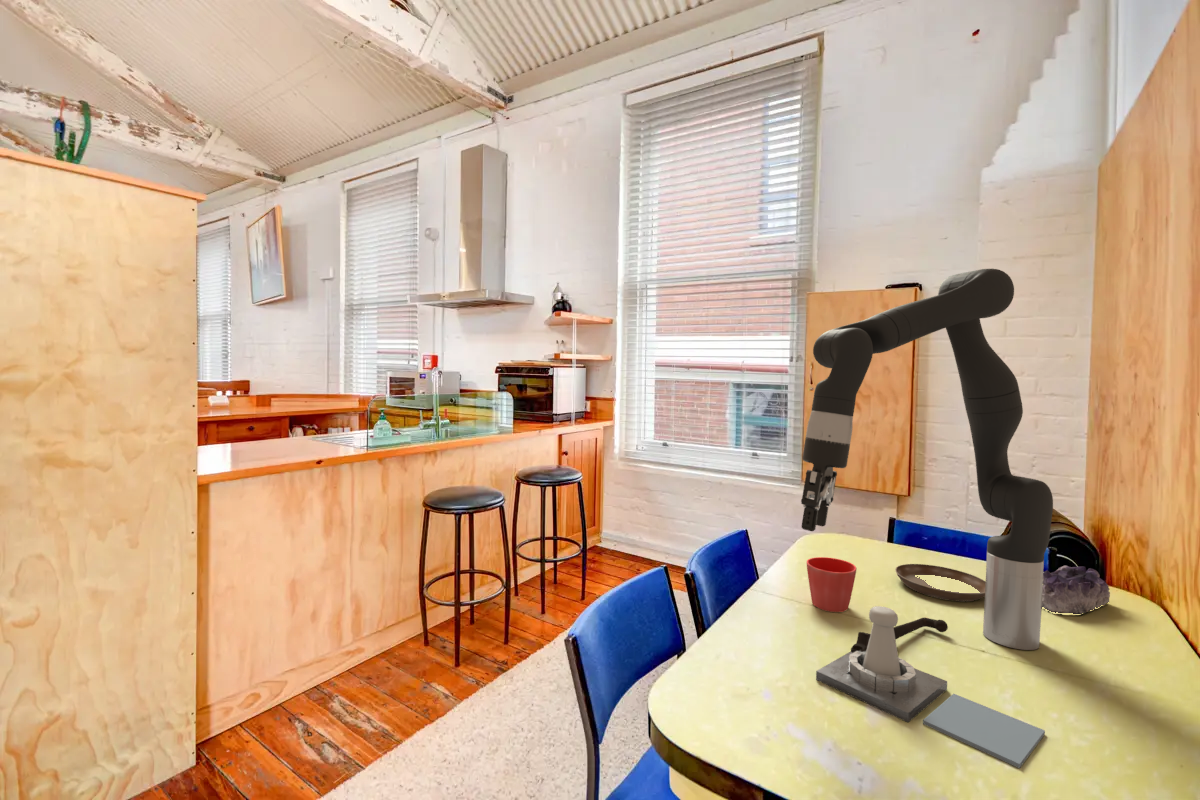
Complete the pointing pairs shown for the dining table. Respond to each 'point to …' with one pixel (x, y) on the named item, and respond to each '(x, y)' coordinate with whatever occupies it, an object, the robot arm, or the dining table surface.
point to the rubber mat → (985, 729)
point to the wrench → (901, 631)
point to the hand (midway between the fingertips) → (813, 527)
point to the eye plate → (883, 685)
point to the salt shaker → (882, 643)
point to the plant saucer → (919, 585)
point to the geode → (1073, 590)
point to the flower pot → (831, 583)
